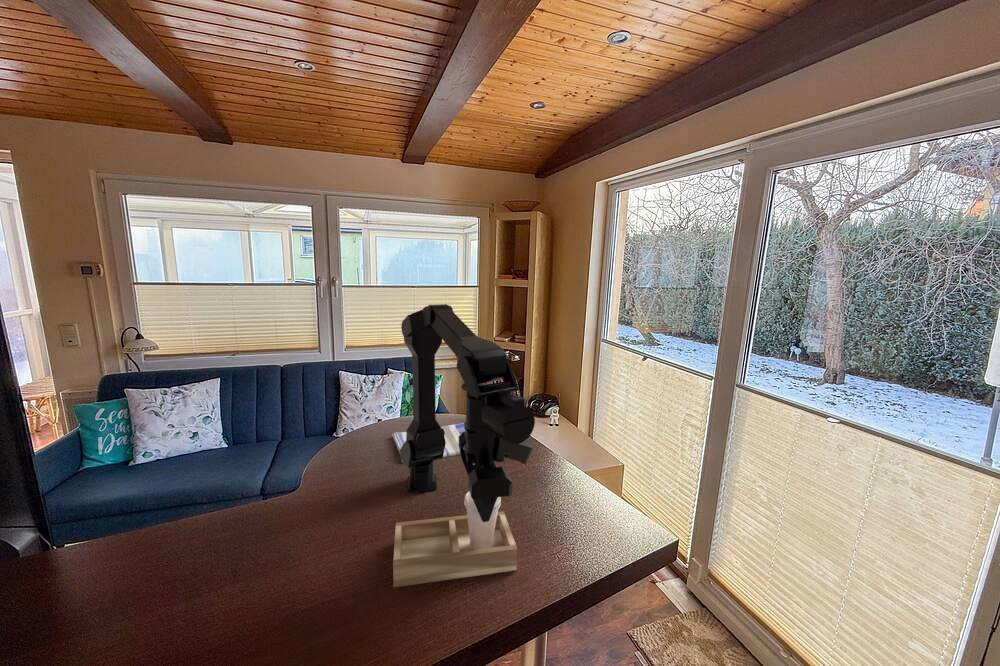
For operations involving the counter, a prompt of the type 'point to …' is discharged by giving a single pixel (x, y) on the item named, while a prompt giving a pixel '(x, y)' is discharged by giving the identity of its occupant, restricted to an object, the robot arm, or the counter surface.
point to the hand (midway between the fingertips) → (481, 506)
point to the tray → (448, 551)
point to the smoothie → (480, 524)
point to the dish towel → (450, 437)
